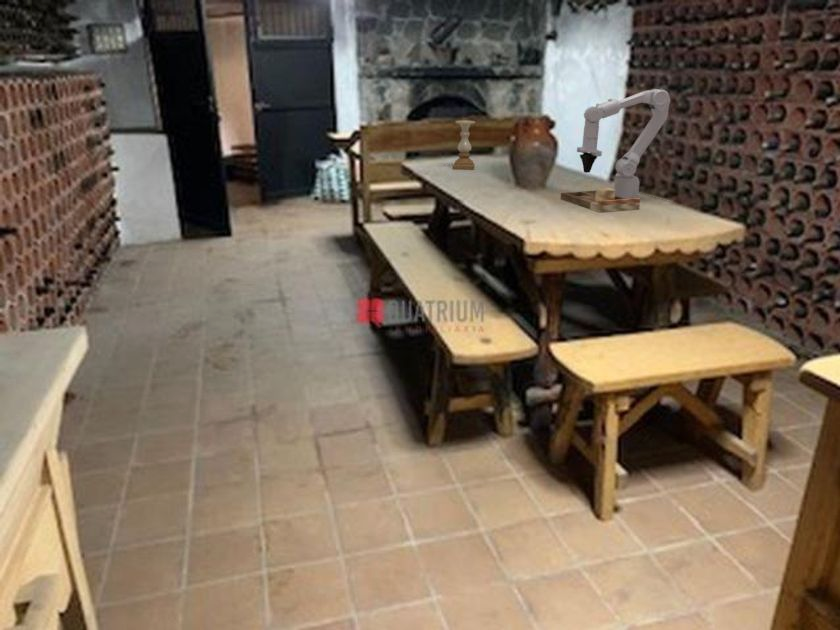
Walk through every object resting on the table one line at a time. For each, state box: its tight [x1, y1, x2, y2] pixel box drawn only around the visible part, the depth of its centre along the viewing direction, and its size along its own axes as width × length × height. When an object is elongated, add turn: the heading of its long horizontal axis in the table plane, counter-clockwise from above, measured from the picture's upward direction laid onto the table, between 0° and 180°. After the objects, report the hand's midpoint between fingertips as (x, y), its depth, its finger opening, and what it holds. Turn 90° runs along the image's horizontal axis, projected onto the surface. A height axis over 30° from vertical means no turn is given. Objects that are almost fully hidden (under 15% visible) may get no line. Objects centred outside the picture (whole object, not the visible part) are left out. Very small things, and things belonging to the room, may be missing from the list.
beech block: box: [595, 187, 615, 203], centre depth 247 cm, size 5×5×5 cm
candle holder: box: [452, 119, 476, 171], centre depth 340 cm, size 11×11×24 cm
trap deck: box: [560, 190, 641, 213], centre depth 257 cm, size 18×27×4 cm, turn 20°
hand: (586, 172), depth 266 cm, fingers closed
